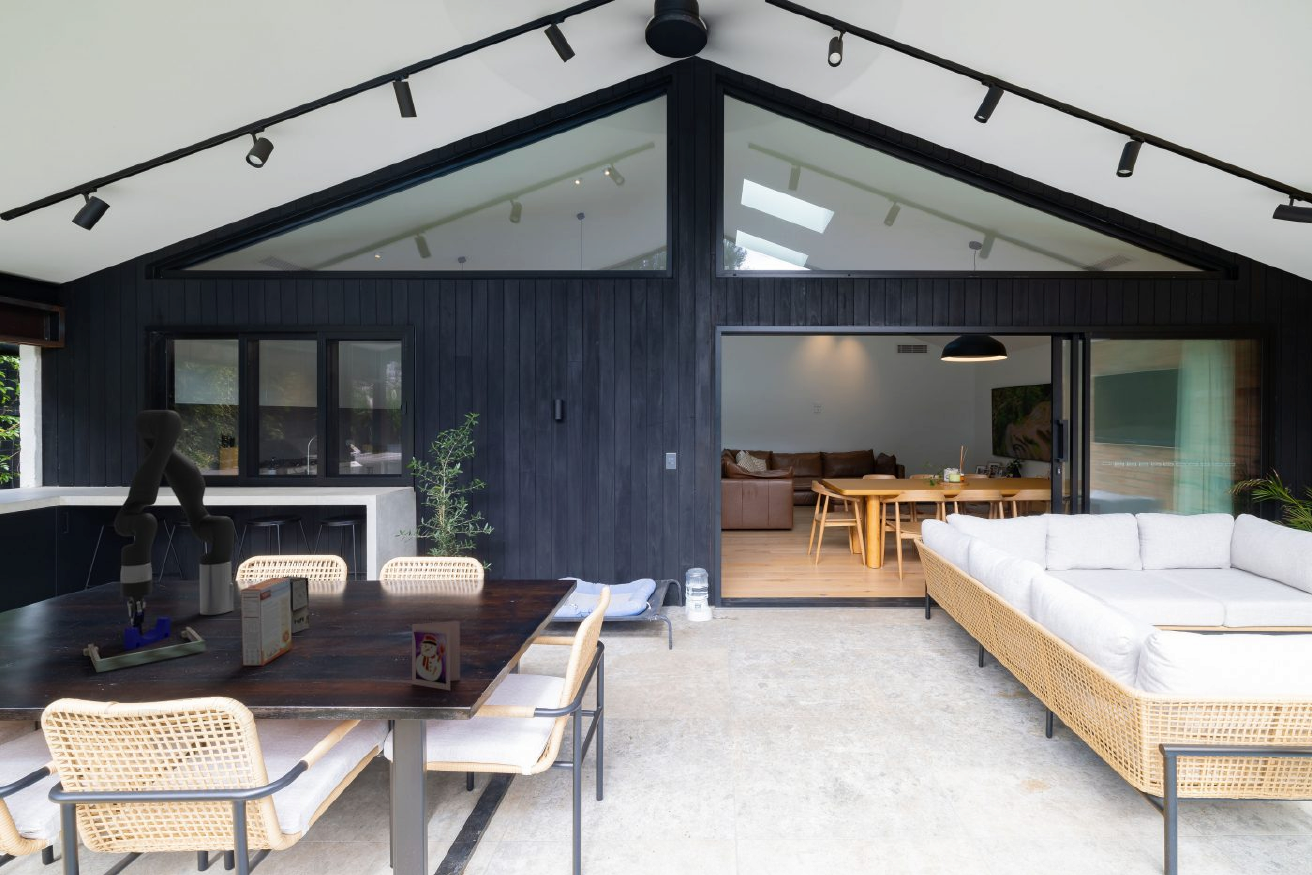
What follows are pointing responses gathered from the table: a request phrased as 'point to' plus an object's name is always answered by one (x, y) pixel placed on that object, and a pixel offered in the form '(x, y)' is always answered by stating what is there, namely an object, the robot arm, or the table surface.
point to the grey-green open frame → (147, 653)
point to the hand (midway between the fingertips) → (137, 636)
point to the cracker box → (266, 621)
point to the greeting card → (436, 654)
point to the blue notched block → (147, 634)
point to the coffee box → (299, 603)
